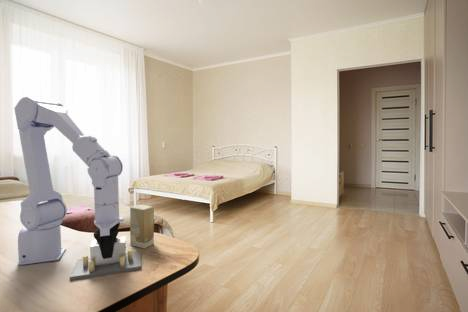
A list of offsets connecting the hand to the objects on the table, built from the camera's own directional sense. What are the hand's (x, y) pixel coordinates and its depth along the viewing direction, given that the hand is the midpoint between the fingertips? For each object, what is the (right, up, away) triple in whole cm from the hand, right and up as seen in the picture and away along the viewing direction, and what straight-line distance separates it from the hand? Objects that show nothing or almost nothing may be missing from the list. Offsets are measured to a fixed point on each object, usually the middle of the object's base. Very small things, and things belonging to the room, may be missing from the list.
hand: (108, 253), depth 71 cm
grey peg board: (0, -3, 0) cm, 3 cm away
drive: (0, -2, 0) cm, 2 cm away
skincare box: (+4, -3, +15) cm, 15 cm away
